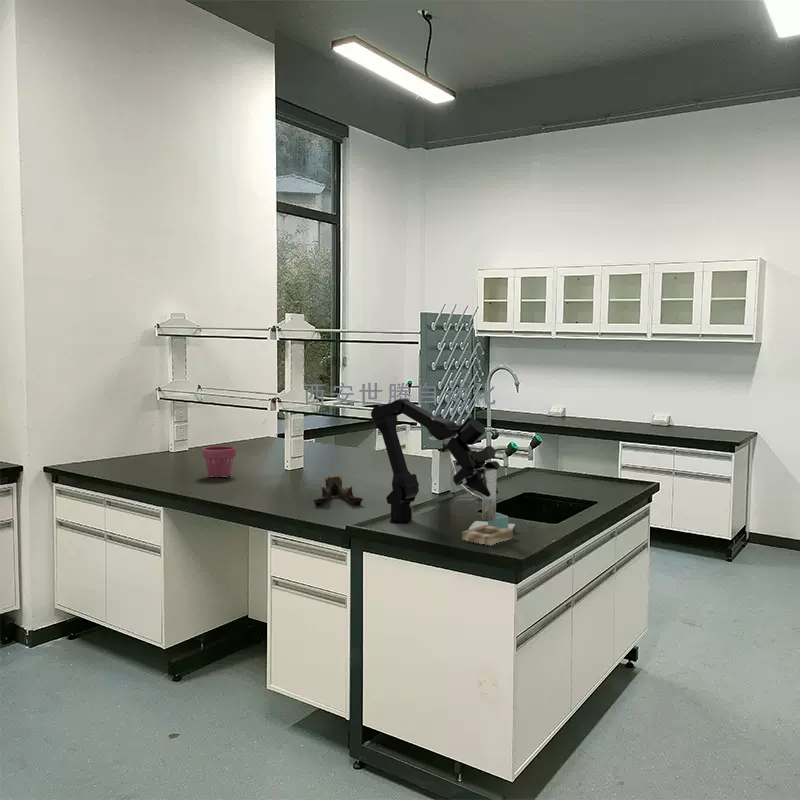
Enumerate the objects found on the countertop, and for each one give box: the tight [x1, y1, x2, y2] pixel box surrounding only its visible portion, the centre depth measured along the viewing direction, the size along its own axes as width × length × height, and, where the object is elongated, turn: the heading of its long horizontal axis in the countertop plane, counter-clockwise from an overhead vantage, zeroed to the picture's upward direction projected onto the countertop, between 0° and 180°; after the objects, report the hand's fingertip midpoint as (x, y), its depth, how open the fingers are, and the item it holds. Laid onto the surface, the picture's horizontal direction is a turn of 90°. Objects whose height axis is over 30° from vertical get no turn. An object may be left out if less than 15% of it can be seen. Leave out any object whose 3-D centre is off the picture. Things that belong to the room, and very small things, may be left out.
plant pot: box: [202, 445, 237, 477], centre depth 321 cm, size 14×14×13 cm
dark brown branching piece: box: [312, 473, 364, 508], centre depth 273 cm, size 17×25×10 cm
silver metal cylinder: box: [481, 469, 498, 522], centre depth 219 cm, size 4×4×15 cm
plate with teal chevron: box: [468, 511, 516, 531], centre depth 232 cm, size 13×11×4 cm
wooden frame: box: [461, 525, 514, 547], centre depth 219 cm, size 10×12×2 cm
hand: (493, 494), depth 218 cm, fingers closed on silver metal cylinder, 4 cm apart
